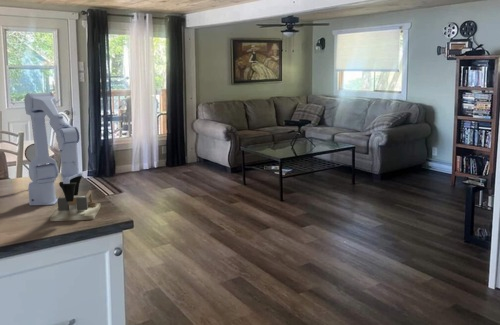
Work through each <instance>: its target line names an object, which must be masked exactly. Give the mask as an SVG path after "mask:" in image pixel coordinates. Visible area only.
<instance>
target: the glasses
mask: <svg viewBox="0 0 500 325" xmlns="http://www.w3.org/2000/svg"><path fill="white" fill-rule="evenodd" d="M62 192H63V191H62ZM84 196H85V197H74V199H73V201H72V202H67V201H66V198H65V195H64V192H63V193H61V195H60V196H59V197H57V198H58V199H57V200H58V201H57V208H58V211H69V205H74V204H77V210H87V209H88V201H89V200H90V202H92V200H93V192H92V190H91V189H89V190H88V192H87V193H86V194H85V195H84ZM87 198H88V201H87Z"/></svg>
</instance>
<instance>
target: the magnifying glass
mask: <svg viewBox="0 0 500 325" xmlns="http://www.w3.org/2000/svg"><path fill="white" fill-rule="evenodd" d="M24 157H25V159H26V161H28V162H29V163H30V162H31V161H32V160H33V159H34V158H35V157H36V154H35V146H34V143H31V144H29V145H28V146H27V147H26V148H25V150H24ZM37 166H38V165H37Z"/></svg>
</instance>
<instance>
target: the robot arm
mask: <svg viewBox="0 0 500 325" xmlns="http://www.w3.org/2000/svg"><path fill="white" fill-rule="evenodd" d="M24 109H25V110H24V111H25V113H26V115H28V116H30V121H31V128H32V137H33V144H34V146H35V154H36V157H35V158H34V159H33V160H32V161H31V162H30V161H29V162H28V175H29V176H28V177H29V179H30V180H31V181H29V183H28V187H27V188H28V199H29V204H28V205H29V206H49V205H51V206H52V205H56V203H58V200H57V199H58V198H59V197H56V185H55V183H56V182H55V181H56V180H57V178H58V177H59V174H60V171H59V167H58V164H57V161H56V159H55V158H52V157H51V156H50V153H49V145H48V136H47V126H46V118H45V117H48V118H49V121H48V122H49V125H50V127H51V128H52V130H53V132H54V133H55V139H56V142H57V147H58V149H59V152H60V153H59V154H60V165H61V178H62V181H60V182H58V185H59V187H60V188H61V190H62V192H64V195H65V196H64V197H65V198H66V201H67V202H72V201H73V199H74V196H79V189H80V185H81V184H80V183H81V180H82V178H83V175H84V174H83V172H80V170H79V168H80V166H79V156H78V155H79V153H78V144H79V142H80V132H79V130H78V127H76V126H74V125H71V123H69V121H68V120H67V118H66V117H65V116H64V114H61V113H59V110H58V109H57V99H56V96H55V94H54V93H53V92H51V91H49V92H35V93H31V92H30V93H29V92H27V93H26V94H25V96H24ZM37 165H38V166H37Z"/></svg>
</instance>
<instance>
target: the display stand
mask: <svg viewBox="0 0 500 325" xmlns="http://www.w3.org/2000/svg"><path fill="white" fill-rule="evenodd" d="M85 196H86V195H75V196H74V197H85ZM87 201H88V209H87V210H77V204H74V205H69V211H58V207H57V208H56V209H55V210H54V212H53V213H52V214H51V215H50V216H49V221H50V222H59V221H60V222H61V221H85V220H87V221H89V220H90V221H91V220H95V218H96V216H97V214H98V213H99V211H100V209H101V203H100V202H99V203H98V199H92V202H90V199H89V197H88V198H87Z"/></svg>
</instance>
